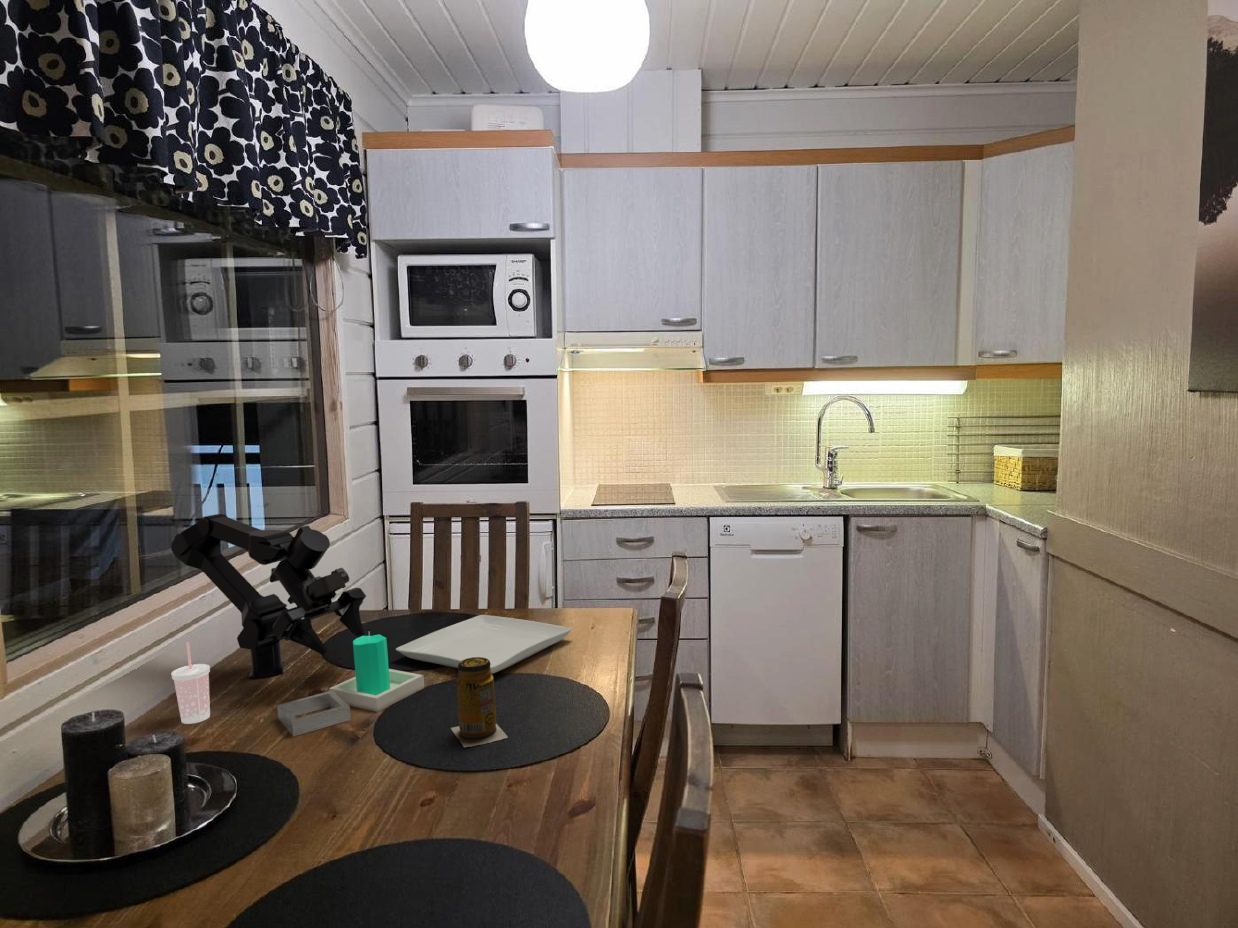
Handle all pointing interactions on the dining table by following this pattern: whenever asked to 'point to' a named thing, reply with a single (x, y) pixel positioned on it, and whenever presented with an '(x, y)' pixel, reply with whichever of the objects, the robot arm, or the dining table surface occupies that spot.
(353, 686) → the tray
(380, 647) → the candle
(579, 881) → the dining table surface
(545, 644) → the square plate
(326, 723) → the steel collar
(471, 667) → the condiment
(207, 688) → the beverage cup
